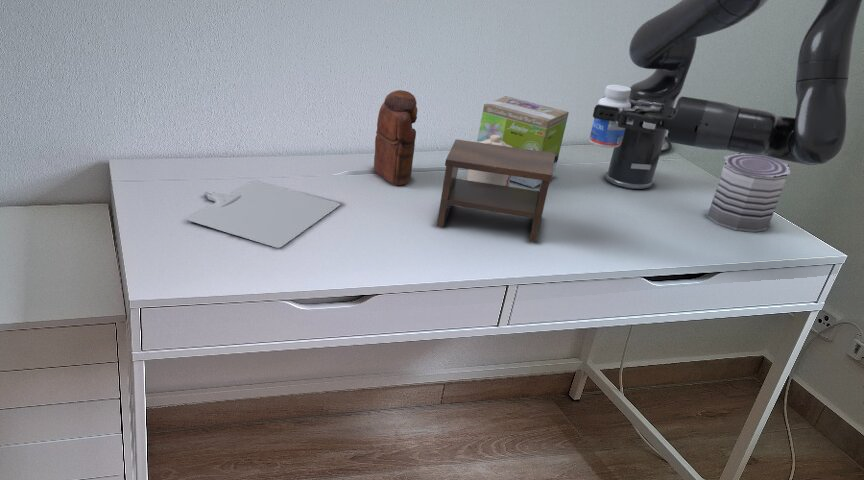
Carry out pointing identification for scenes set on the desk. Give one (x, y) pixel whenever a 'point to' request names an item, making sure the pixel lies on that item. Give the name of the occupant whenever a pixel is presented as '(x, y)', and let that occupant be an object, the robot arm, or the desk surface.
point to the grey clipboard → (263, 213)
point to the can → (748, 192)
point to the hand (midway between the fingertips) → (597, 106)
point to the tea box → (524, 128)
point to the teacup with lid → (487, 176)
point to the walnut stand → (491, 194)
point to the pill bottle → (609, 131)
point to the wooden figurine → (396, 137)
